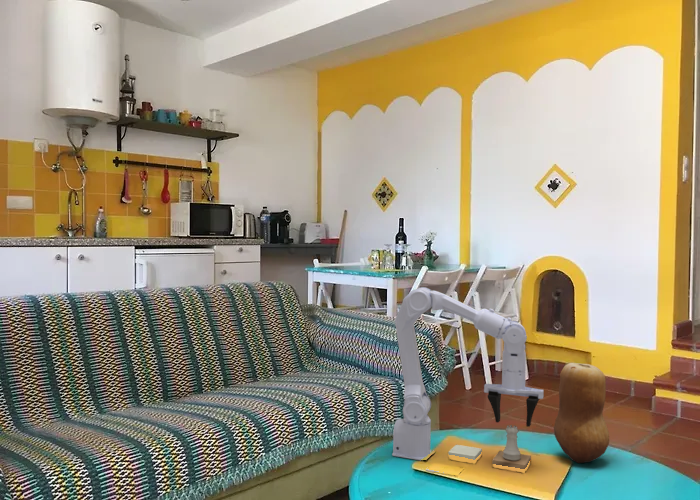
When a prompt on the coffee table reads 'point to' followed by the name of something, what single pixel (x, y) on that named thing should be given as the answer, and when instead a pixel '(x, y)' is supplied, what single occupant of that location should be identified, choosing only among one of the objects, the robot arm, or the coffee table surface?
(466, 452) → the grey-green block
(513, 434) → the rook chess piece
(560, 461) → the coffee table surface
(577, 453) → the butternut squash
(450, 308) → the robot arm
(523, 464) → the walnut block
